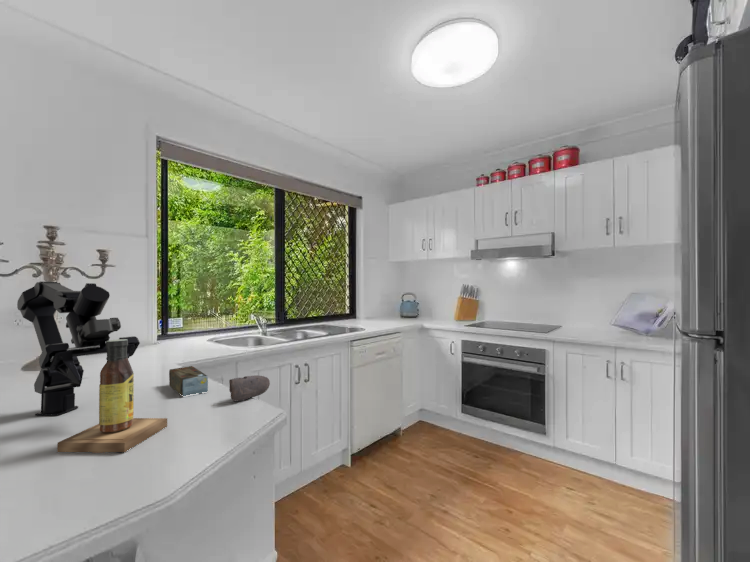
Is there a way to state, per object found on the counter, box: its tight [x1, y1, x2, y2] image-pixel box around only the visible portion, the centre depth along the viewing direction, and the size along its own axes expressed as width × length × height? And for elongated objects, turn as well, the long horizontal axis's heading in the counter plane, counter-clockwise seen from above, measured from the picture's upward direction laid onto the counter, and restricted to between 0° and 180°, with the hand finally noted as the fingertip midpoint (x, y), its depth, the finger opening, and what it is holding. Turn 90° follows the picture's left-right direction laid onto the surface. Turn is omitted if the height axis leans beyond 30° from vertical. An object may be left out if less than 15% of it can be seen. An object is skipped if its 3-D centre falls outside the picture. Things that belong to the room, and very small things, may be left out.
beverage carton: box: [168, 365, 209, 396], centre depth 118 cm, size 8×19×7 cm, turn 42°
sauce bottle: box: [98, 338, 135, 433], centre depth 78 cm, size 6×6×20 cm
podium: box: [56, 417, 168, 454], centre depth 78 cm, size 14×14×2 cm
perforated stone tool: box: [228, 374, 271, 402], centre depth 108 cm, size 15×5×7 cm, turn 144°
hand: (103, 378), depth 82 cm, fingers open, 9 cm apart
